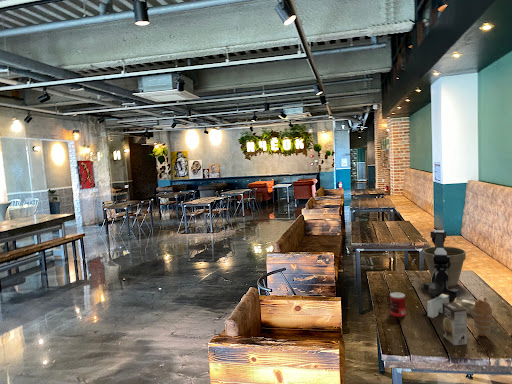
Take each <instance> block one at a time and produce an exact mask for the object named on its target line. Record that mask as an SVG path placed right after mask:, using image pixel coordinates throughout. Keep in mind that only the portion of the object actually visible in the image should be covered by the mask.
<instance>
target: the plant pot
mask: <svg viewBox="0 0 512 384" xmlns="http://www.w3.org/2000/svg"><path fill="white" fill-rule="evenodd" d="M444 250H445V251H446V252H447V256H449V258H450V265H451V266H449V268H450V269H447V273H448V278H449V280H448V286H449V288H450V287H451V288H452V287H455V286H458V283H459V281H460V277H461V274H462V270H463V266H464V262H465V260H466V258H467V257H466V254H467V252H466V250H465V249H462V248H459V247H455V246H444ZM434 251H435V246H431V247H425V248H423V250H422V258H423V259H424V260H425V263H426V267H427V269H428V273H429V276H430V277H431V276H433V272H434V270H435V268H433V256H434ZM434 266H435V263H434ZM447 266H448V263H447Z"/></svg>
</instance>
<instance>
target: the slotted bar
mask: <svg viewBox="0 0 512 384" xmlns="http://www.w3.org/2000/svg"><path fill="white" fill-rule="evenodd" d="M442 303H448V302H447V296H444V295H441V296H438V297H435V298H434V299H430V300H427V305H426V306H427V307H426V308H427V317H428V318H432V319H434V318H436V317H437V316H439V313H441V314H443V307H442Z"/></svg>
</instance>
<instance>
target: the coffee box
mask: <svg viewBox="0 0 512 384" xmlns="http://www.w3.org/2000/svg"><path fill="white" fill-rule="evenodd" d="M457 303H458V302H457ZM457 303H455V302H453V303H442V307H443V313H442V337H443V338H445V339H446V340H447V341H448V342H449V343H451V344H452V345H453V346H460V345H461V346H463V345H468V338H467V337H468V332H467V331H468V328H467V327H468V325H467V323H468V322H467V319H468V318H467V317H468V316H467V315H468V314H467V310H466V309H465V308H463V307H461V306H460V305H458V304H457Z"/></svg>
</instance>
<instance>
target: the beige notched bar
mask: <svg viewBox="0 0 512 384" xmlns="http://www.w3.org/2000/svg"><path fill="white" fill-rule="evenodd" d="M441 295H444V296H447V302H448V303H449V298H448V296H449V295H448V294H447V295H445V294H441ZM441 295H440V296H441ZM454 302H455V303H457V304H458V305H460V306H461V307H463V308H465V309H466V310H467V315H470V316H471V317H473V307H474V306H475V302H476V301H472V300H467V299H462V300H460V302H461V303H458V302H457V297H456V298H455V300H454Z"/></svg>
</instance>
